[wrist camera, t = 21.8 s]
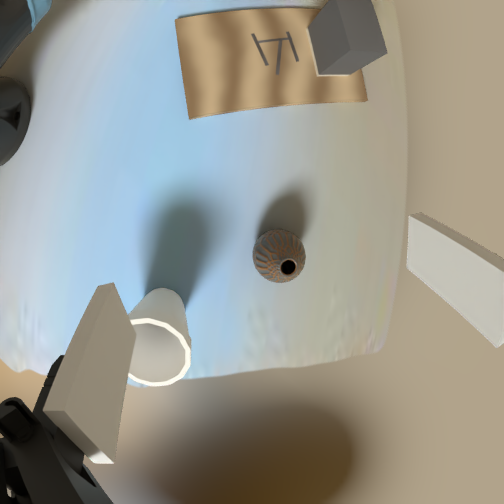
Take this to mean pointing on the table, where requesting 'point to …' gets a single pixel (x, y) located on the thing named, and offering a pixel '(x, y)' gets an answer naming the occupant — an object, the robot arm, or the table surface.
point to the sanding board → (255, 62)
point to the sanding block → (345, 37)
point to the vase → (279, 256)
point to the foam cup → (160, 339)
